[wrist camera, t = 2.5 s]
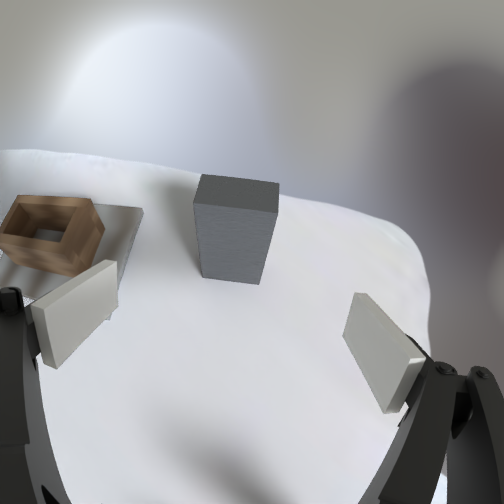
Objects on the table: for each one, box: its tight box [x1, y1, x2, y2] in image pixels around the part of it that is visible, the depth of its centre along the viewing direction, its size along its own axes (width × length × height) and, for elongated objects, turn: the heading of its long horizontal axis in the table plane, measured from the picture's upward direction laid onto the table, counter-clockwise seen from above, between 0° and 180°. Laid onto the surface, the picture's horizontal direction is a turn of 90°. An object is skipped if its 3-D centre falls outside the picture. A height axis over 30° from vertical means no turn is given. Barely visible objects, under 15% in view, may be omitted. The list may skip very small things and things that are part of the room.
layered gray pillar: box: [193, 174, 279, 285], centre depth 26 cm, size 6×3×12 cm, turn 85°
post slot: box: [0, 195, 144, 320], centre depth 27 cm, size 20×14×6 cm
